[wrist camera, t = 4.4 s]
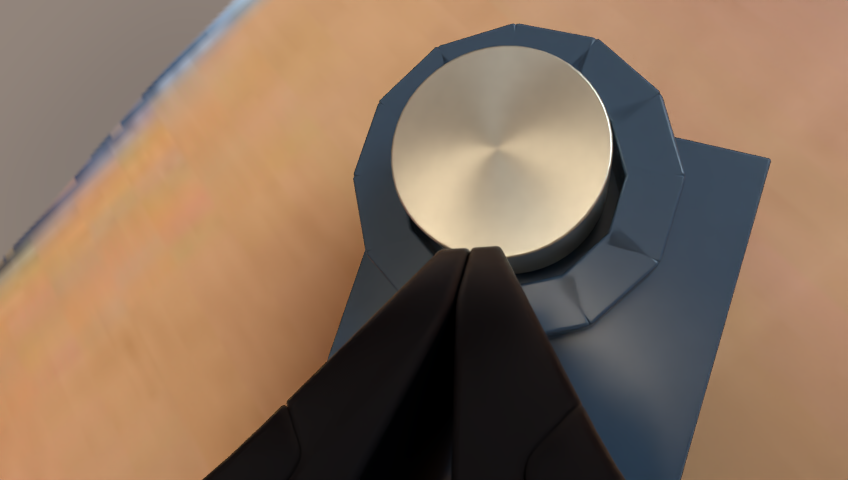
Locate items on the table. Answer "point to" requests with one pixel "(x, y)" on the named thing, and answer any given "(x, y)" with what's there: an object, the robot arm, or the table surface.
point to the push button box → (600, 255)
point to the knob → (505, 155)
